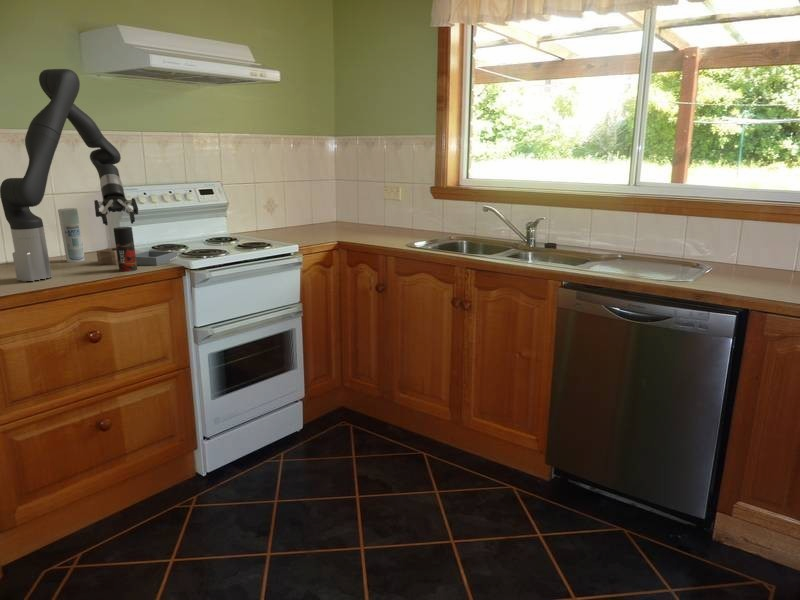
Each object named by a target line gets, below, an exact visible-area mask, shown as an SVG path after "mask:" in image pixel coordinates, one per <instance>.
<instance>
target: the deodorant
mask: <svg viewBox="0 0 800 600" xmlns="http://www.w3.org/2000/svg"><path fill="white" fill-rule="evenodd" d="M112 229H113V236H114V242H115V248H116V251H117V258H118V265H117V266H118V270H119V272H122V273H125V272H127V273H128V272H135V271H137V270H138V265H137V263H136V255H135V254H136V248H135V240H134V233H133V227H132V226H119V227H113V228H112Z"/></svg>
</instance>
